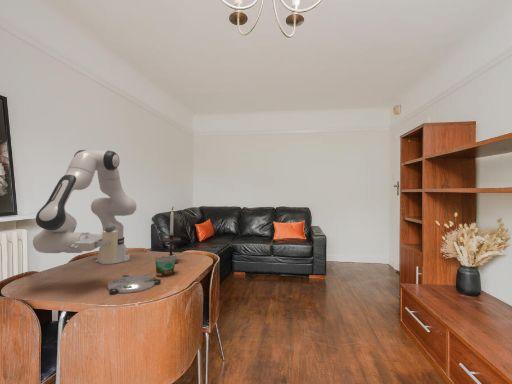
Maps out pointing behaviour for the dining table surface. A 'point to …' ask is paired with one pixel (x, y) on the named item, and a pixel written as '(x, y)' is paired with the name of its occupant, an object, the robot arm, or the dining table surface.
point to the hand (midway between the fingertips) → (112, 242)
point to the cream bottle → (110, 251)
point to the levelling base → (132, 284)
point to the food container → (165, 265)
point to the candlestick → (171, 235)
